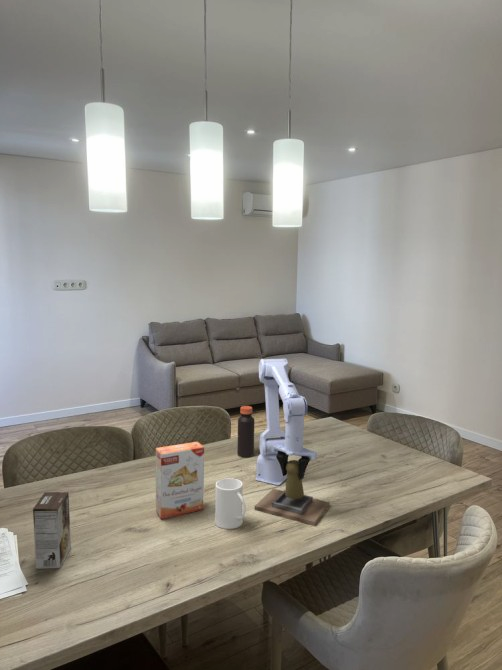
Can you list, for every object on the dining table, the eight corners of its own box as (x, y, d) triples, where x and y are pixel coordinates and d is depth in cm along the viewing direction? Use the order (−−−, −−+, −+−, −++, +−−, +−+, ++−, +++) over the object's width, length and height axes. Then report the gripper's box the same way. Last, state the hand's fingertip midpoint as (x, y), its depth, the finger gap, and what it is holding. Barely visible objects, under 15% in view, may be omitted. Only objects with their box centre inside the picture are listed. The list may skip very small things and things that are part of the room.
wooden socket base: (254, 509, 150) (254, 501, 149) (273, 491, 162) (273, 484, 162) (314, 525, 141) (314, 517, 140) (329, 505, 153) (329, 497, 153)
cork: (301, 500, 148) (300, 467, 146) (282, 497, 150) (281, 465, 148) (305, 490, 153) (305, 458, 151) (287, 488, 156) (287, 456, 154)
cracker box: (161, 520, 142) (160, 453, 140) (155, 511, 148) (154, 447, 145) (204, 510, 149) (204, 446, 146) (197, 502, 154) (197, 440, 152)
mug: (254, 528, 139) (255, 489, 137) (230, 537, 134) (230, 497, 132) (232, 511, 148) (233, 475, 147) (209, 519, 143) (209, 481, 142)
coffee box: (47, 548, 127) (44, 491, 125) (71, 547, 128) (69, 491, 126) (34, 569, 118) (31, 508, 116) (61, 568, 119) (58, 507, 117)
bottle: (253, 458, 192) (254, 410, 189) (237, 457, 192) (237, 409, 189) (253, 451, 198) (254, 405, 196) (237, 451, 199) (238, 405, 196)
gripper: (267, 435, 148) (267, 476, 150) (311, 443, 142) (310, 486, 143) (277, 428, 154) (276, 468, 156) (319, 436, 148) (318, 477, 149)
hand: (293, 476), depth 150 cm, fingers closed on cork, 5 cm apart
